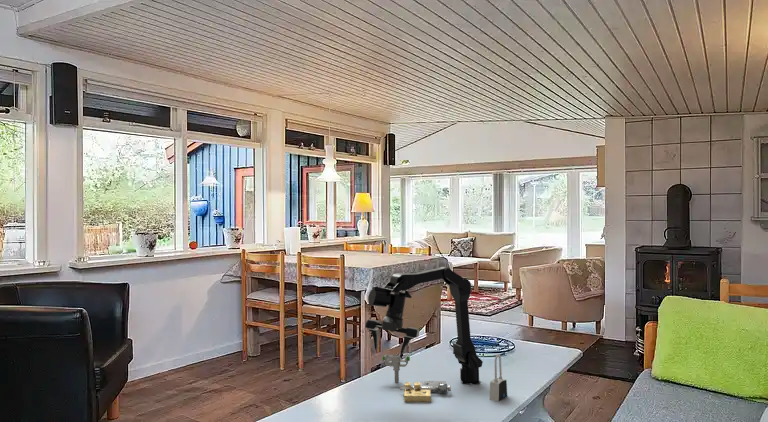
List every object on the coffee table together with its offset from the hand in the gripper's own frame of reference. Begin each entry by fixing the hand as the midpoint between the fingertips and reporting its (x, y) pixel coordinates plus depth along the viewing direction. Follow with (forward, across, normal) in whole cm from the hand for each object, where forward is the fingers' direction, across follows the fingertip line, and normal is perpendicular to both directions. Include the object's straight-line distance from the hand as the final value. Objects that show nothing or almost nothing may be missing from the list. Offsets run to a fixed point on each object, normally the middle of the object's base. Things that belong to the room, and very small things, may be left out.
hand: (388, 352), depth 205 cm
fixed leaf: (+12, +14, +9) cm, 21 cm away
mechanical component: (+13, +2, +18) cm, 23 cm away
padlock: (+8, +40, +6) cm, 41 cm away
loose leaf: (+13, +13, +2) cm, 18 cm away
